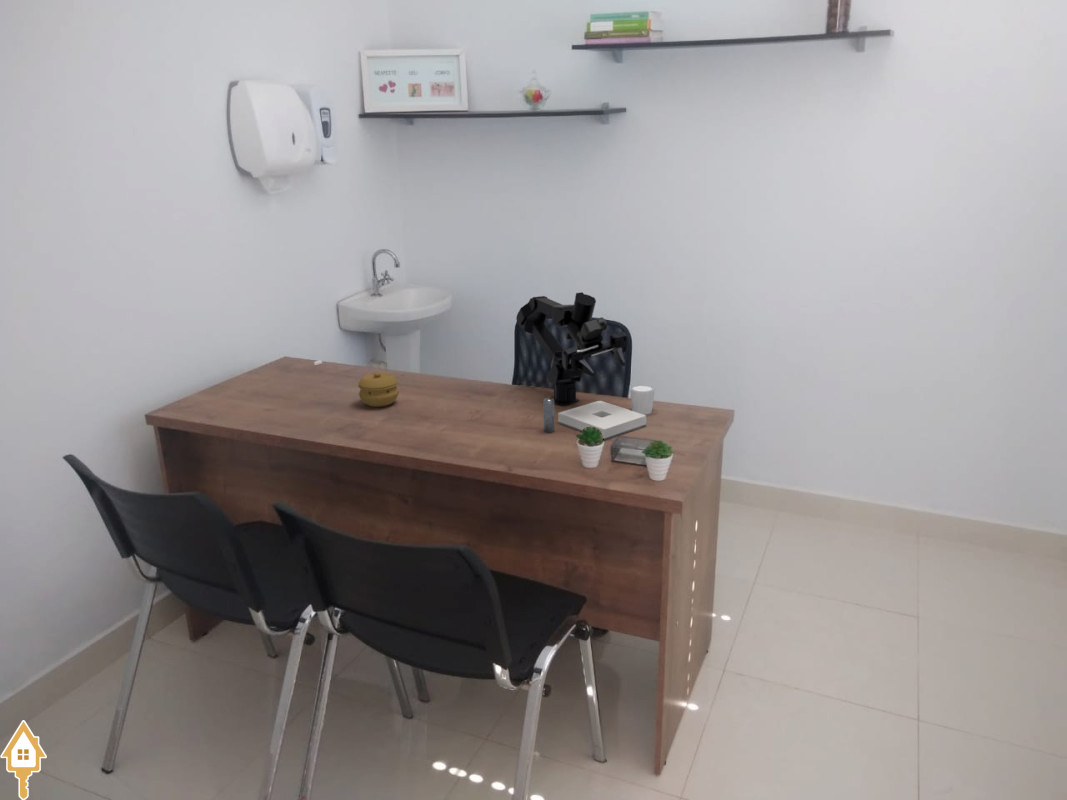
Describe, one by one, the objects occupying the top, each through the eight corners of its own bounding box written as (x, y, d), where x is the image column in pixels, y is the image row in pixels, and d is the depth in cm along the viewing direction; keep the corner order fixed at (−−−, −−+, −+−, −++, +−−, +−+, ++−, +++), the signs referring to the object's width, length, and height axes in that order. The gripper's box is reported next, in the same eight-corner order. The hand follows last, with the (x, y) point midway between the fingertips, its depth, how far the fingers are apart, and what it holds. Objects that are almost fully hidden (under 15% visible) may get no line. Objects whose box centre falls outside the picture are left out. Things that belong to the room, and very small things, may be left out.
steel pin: (541, 430, 223) (541, 399, 220) (549, 428, 224) (549, 397, 222) (548, 433, 221) (548, 401, 218) (556, 431, 222) (556, 399, 220)
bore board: (558, 423, 228) (558, 412, 227) (599, 410, 238) (599, 400, 237) (604, 440, 215) (604, 429, 214) (646, 425, 225) (646, 415, 224)
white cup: (648, 417, 232) (648, 393, 230) (625, 413, 235) (626, 389, 233) (657, 410, 237) (658, 386, 235) (635, 406, 241) (636, 383, 239)
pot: (352, 408, 244) (349, 376, 241) (372, 396, 254) (369, 365, 251) (387, 412, 240) (385, 379, 237) (406, 399, 251) (404, 368, 248)
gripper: (552, 322, 221) (578, 357, 211) (614, 303, 227) (642, 336, 216) (552, 353, 229) (577, 388, 219) (612, 334, 234) (639, 368, 224)
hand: (609, 369), depth 219 cm, fingers open, 9 cm apart
